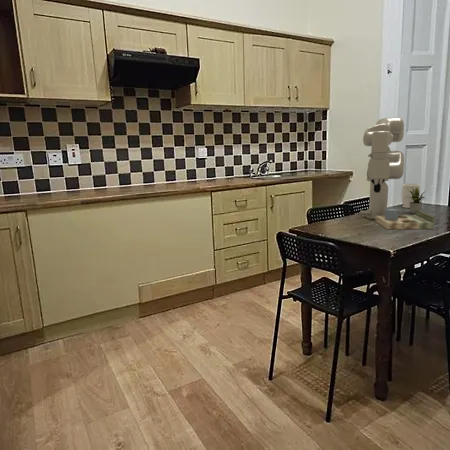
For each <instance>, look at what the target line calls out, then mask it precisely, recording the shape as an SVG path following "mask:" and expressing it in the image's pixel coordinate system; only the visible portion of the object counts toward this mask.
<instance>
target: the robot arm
mask: <svg viewBox="0 0 450 450" xmlns="http://www.w3.org/2000/svg"><path fill="white" fill-rule="evenodd" d="M404 127H405V122H404V120H403V118H401V117H384V118H380V119H378V120H377V121H376V123H375V125H374V126H370V127H369V128H367V129H365V131H364V133H363V138H362V142H363V145H364V146H365V147H371V152H370V153H368V154H367V156H368V158H370V159H369V160H368V164H367V170H366V181H367V182H369V185H370V187H369V206H368V208H367V209H366V210H360V211H359V213H360V215H365V218H367V219H372V220H376V216H385V209H388V198H389V185H388V184H387V182H388V181H389V180H399V179H401V178H402V177H403V175H404V173H405V172H404V171H405V156H404V155H405V154H404V153H403V151H401V150H391V148H390V145H391V143H399V142H402V140H403V139H404V135H405V134H404V132H405V128H404Z"/></svg>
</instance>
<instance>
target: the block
mask: <svg viewBox="0 0 450 450" xmlns="http://www.w3.org/2000/svg"><path fill="white" fill-rule="evenodd" d="M399 213H400V210H398V209H396V208H387V209H385V219H387V220H398V215H400V214H399Z"/></svg>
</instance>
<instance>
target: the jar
mask: <svg viewBox="0 0 450 450" xmlns="http://www.w3.org/2000/svg"><path fill="white" fill-rule="evenodd" d="M401 187H402V189H401V202H402V208H405V209H410V202H414V201H413V199H412V200H411V198H412V194H411V192H410V191H412V192H413V189H414V192H415V188H416V187H417V189H418V188H419V189H418V190H419V196H421V194H420V193H421V190H420V187H421V184H419V183H403V184H402V186H401ZM411 187H412V188H413V189H412V188H411ZM404 188H405V189H404ZM409 190H410V191H409ZM404 195H405V196H404ZM407 196H408V197H407ZM406 197H407V198H406ZM410 197H411V198H410Z"/></svg>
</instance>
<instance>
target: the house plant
mask: <svg viewBox="0 0 450 450" xmlns="http://www.w3.org/2000/svg"><path fill="white" fill-rule="evenodd" d="M411 188H412V187H411ZM404 189H405V188H404ZM412 189H413V188H412ZM418 189H420V187H419V188H418ZM418 189H417V187H416V188H415V192H414V189H413V192H412V191H410V190H409V191H410V192H411V194H412V198H411V197H410V198H411V200H412V199H413V201H414V202H410V208H409V210H410V213H411V214H413V215H416V210H420V211H422V208H423V202H422V201H423V200H424V199H425V196H424V194H425V193H426V191H423V192H422V193H421V194H420V195H419V190H418ZM404 196H405V195H404ZM407 197H408V196H407ZM407 197H406V198H407Z"/></svg>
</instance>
